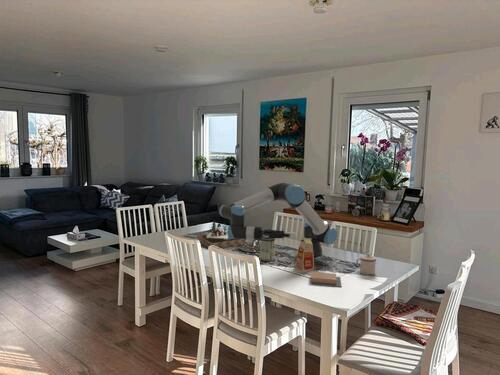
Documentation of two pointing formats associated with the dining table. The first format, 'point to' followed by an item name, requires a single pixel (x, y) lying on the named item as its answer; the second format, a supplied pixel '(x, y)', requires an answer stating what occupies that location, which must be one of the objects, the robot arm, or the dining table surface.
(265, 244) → the coffee can
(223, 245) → the diorama tray
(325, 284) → the mat
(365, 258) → the teacup with lid
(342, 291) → the dining table surface
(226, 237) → the miniature diorama
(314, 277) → the tile
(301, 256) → the milk carton
